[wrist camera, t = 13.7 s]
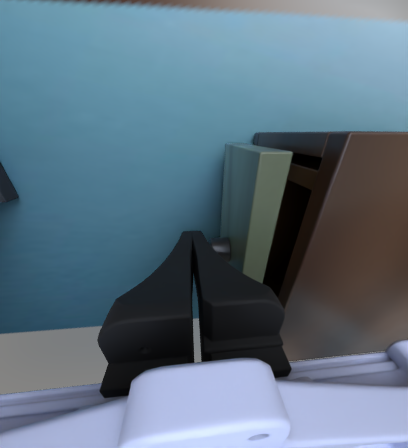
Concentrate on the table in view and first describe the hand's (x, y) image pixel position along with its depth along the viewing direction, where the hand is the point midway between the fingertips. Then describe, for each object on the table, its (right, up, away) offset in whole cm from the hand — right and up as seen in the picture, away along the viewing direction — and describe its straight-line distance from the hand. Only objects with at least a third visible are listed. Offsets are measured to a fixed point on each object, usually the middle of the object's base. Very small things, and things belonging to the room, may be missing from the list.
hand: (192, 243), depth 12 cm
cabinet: (+9, +2, +3) cm, 10 cm away
